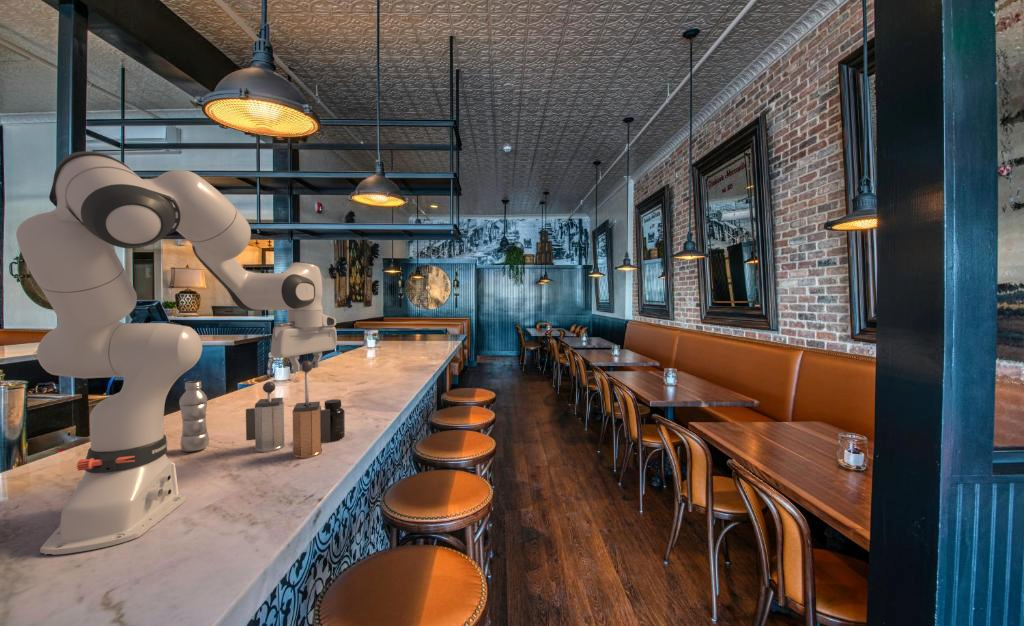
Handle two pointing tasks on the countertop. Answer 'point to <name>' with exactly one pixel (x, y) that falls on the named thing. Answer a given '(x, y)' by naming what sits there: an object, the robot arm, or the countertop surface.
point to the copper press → (310, 429)
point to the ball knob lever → (306, 379)
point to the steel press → (266, 424)
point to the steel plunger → (269, 389)
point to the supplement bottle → (336, 419)
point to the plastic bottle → (193, 418)
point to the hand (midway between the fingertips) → (306, 369)
